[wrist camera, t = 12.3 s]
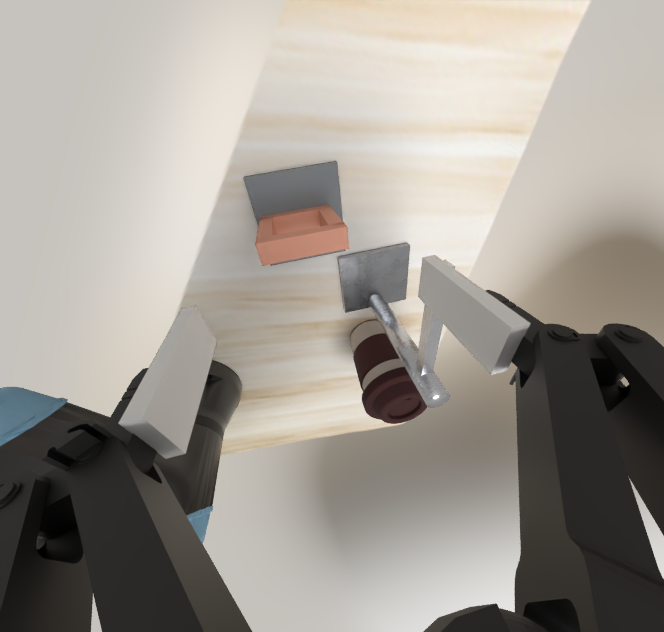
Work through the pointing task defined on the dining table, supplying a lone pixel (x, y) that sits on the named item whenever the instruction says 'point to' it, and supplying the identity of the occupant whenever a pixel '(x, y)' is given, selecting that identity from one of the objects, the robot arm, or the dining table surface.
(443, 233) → the dining table surface
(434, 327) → the stand
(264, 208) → the coaster
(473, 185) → the dining table surface
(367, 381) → the coffee cup
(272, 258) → the link
